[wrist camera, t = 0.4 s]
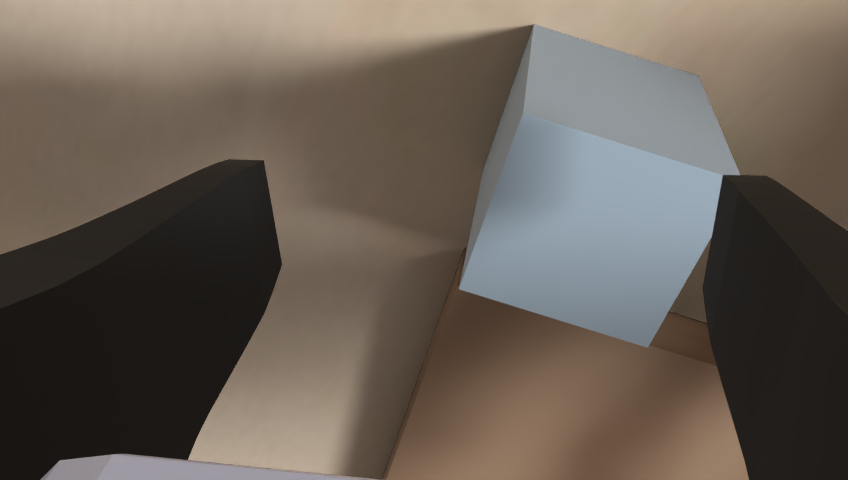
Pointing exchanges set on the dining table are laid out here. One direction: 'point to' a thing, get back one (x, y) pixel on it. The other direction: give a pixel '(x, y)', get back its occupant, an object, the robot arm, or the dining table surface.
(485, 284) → the slate block
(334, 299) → the dining table surface
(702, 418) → the walnut base
